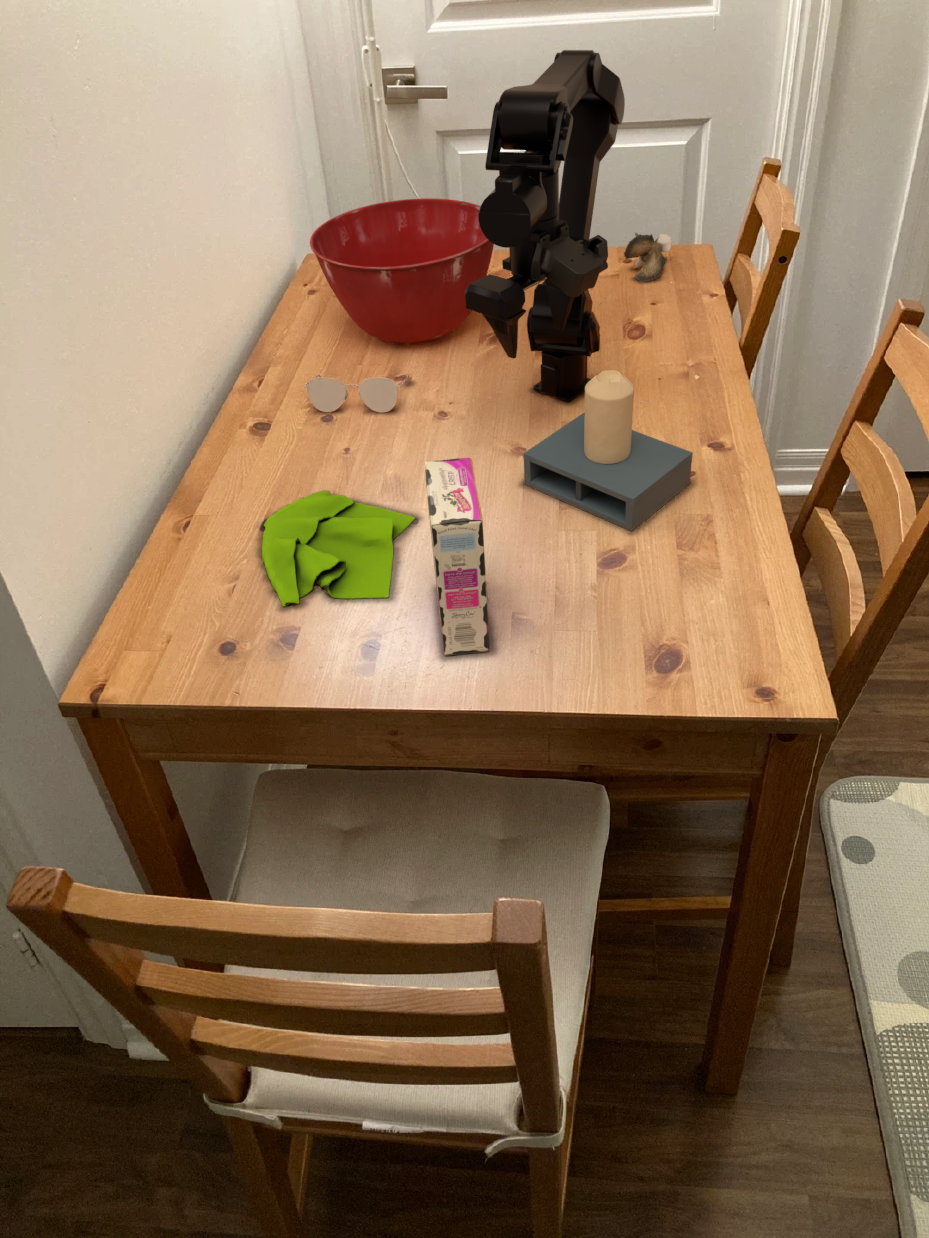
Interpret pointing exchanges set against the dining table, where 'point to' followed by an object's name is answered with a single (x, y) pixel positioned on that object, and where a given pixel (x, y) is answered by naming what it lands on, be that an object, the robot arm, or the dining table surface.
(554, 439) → the shelf
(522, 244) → the robot arm
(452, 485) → the candy bar box
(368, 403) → the sunglasses
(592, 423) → the candle
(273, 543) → the cloth
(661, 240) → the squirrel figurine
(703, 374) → the dining table surface
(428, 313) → the mixing bowl
